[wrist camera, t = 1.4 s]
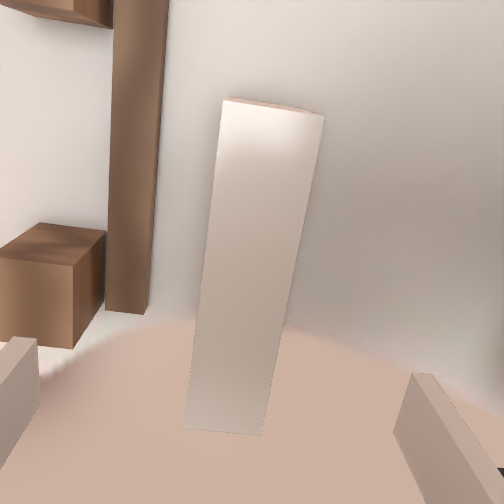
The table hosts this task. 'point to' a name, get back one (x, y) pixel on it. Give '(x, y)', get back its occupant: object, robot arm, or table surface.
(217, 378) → the light grey rectangular block
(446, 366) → the table surface
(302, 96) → the table surface
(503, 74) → the table surface
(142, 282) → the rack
